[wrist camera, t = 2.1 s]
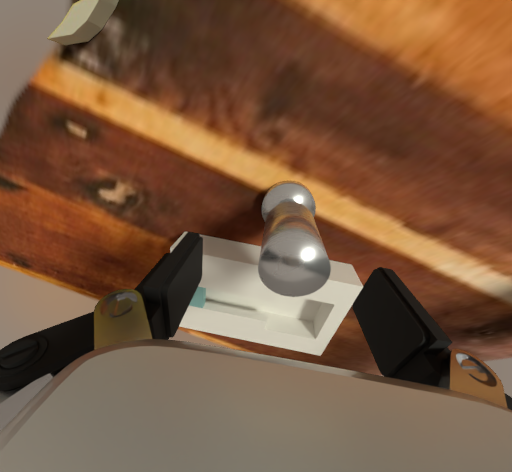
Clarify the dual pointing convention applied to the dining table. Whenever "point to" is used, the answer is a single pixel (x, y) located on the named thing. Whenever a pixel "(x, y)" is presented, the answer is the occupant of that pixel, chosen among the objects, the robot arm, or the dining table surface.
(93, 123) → the dining table surface
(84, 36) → the wall ornament
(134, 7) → the dining table surface
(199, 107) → the dining table surface
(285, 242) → the steel peg
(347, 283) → the keyhole plate
